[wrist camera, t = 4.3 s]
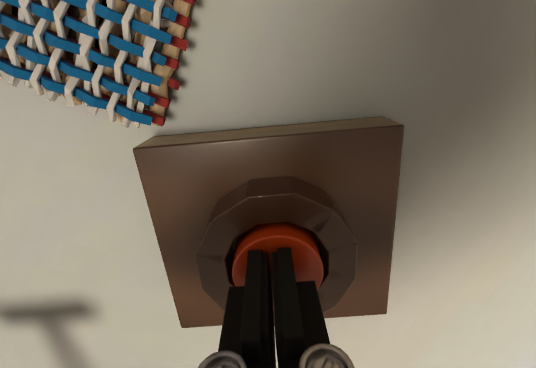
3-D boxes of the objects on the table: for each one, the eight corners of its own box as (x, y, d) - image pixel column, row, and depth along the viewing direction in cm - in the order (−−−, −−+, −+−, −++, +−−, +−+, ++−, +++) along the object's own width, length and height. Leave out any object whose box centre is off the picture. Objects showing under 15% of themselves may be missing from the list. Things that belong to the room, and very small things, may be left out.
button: (231, 213, 12) (225, 240, 10) (314, 207, 12) (323, 232, 10) (241, 279, 14) (237, 313, 12) (316, 274, 13) (324, 307, 12)
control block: (152, 136, 13) (108, 161, 10) (383, 116, 13) (430, 133, 9) (191, 298, 17) (170, 361, 13) (372, 285, 17) (402, 345, 13)
